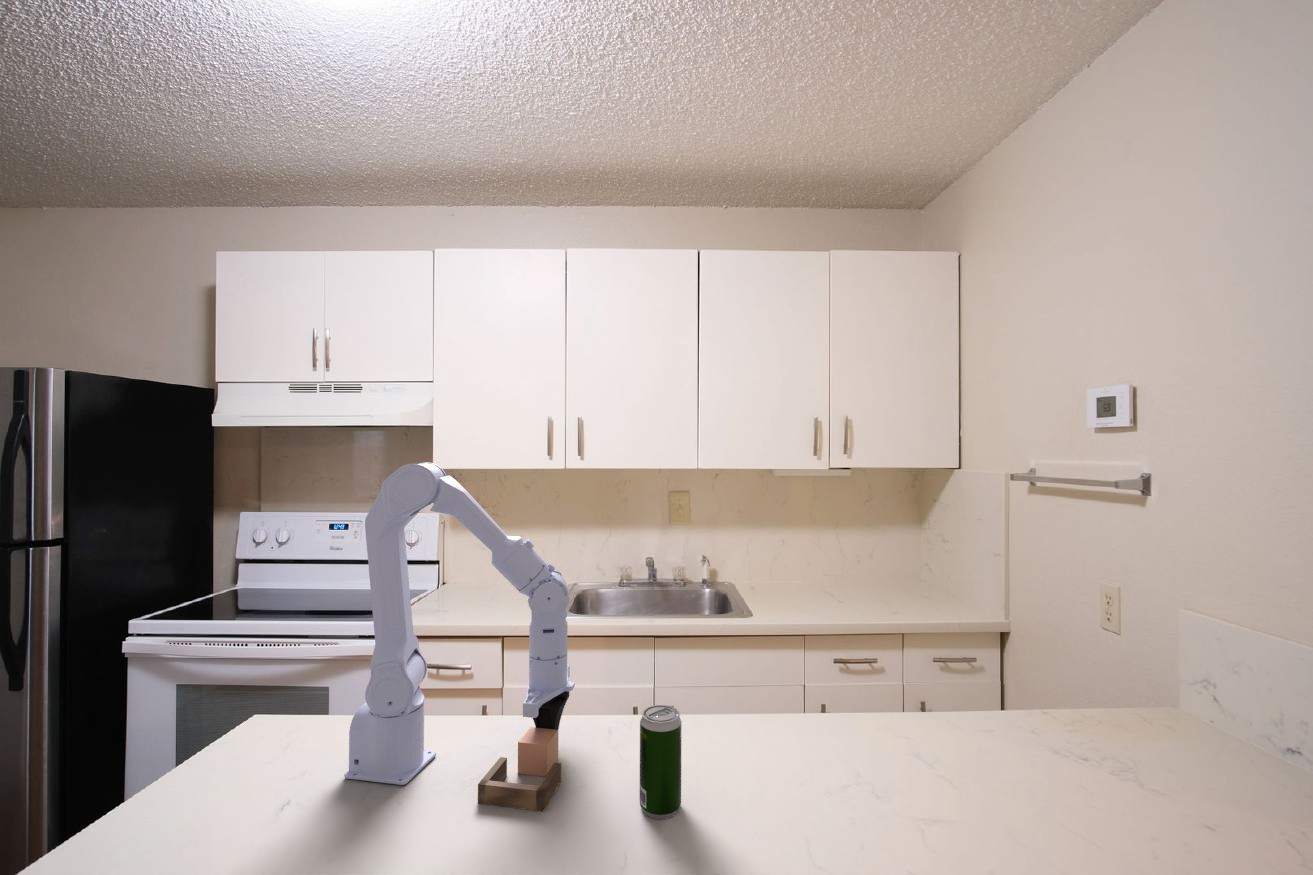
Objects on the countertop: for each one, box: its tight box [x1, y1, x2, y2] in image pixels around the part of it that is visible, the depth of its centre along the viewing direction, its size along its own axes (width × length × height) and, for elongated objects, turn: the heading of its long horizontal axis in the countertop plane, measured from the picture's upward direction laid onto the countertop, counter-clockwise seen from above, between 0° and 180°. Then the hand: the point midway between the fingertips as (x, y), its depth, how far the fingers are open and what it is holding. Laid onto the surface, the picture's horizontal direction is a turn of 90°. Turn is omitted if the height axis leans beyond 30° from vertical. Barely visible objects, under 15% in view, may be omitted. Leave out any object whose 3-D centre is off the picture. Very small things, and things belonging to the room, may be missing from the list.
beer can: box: [639, 704, 682, 820], centre depth 73 cm, size 5×5×12 cm
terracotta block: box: [517, 726, 559, 778], centre depth 82 cm, size 4×4×4 cm
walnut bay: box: [477, 756, 562, 812], centre depth 75 cm, size 9×6×2 cm
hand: (547, 743), depth 85 cm, fingers closed
